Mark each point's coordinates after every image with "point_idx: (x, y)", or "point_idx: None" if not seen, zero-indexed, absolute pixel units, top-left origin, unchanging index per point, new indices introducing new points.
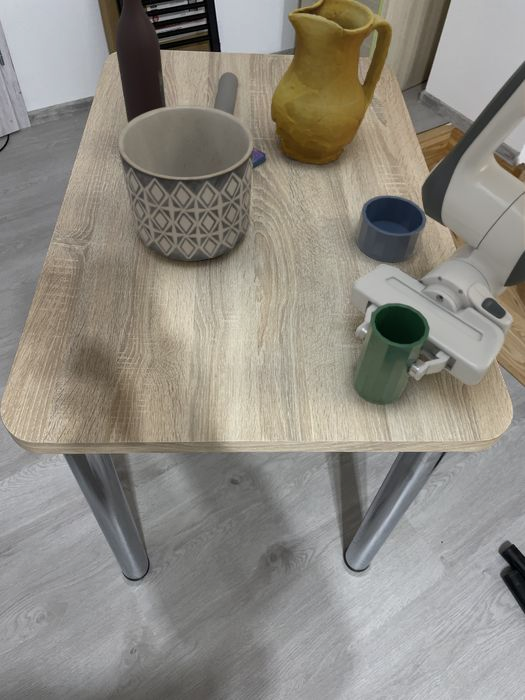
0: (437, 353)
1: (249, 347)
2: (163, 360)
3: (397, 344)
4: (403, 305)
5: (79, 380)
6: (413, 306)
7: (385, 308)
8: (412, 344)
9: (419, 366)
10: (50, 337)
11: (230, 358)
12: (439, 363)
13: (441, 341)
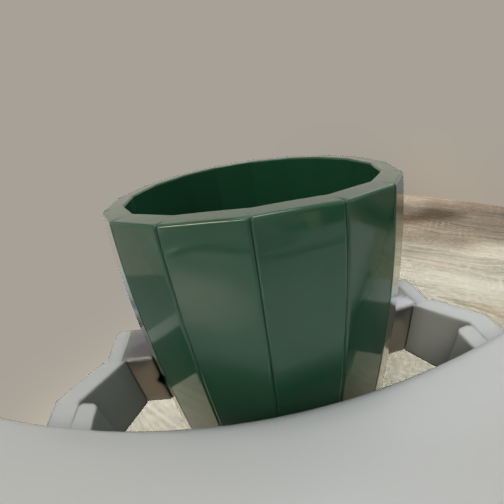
0: (94, 418)
1: (454, 291)
2: (437, 237)
3: (191, 172)
4: (364, 187)
5: (420, 209)
6: (463, 495)
7: (375, 173)
8: (148, 186)
9: (134, 339)
10: (463, 205)
11: (435, 273)
12: (73, 387)
13: (84, 445)
